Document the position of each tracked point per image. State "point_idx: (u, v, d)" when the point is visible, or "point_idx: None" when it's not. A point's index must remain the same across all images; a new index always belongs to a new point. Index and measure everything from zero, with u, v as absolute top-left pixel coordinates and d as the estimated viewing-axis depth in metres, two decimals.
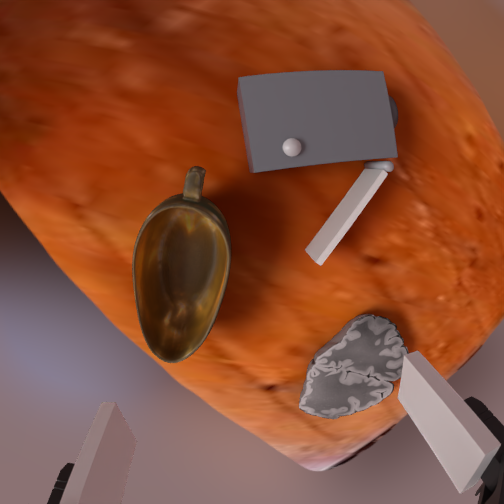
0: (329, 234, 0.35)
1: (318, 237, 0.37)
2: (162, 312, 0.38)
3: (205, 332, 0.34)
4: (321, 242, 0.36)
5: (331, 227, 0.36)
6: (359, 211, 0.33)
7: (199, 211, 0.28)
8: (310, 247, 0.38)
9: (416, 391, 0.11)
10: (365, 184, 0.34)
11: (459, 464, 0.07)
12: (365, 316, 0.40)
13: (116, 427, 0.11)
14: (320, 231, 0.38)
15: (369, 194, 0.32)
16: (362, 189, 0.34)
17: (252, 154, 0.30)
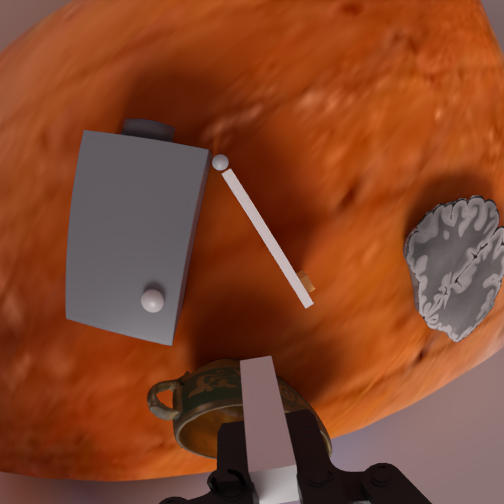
0: None
1: None
2: None
3: None
4: None
5: None
6: (267, 231, 0.24)
7: (190, 419, 0.24)
8: None
9: None
10: None
11: None
12: (408, 243, 0.29)
13: None
14: None
15: (250, 209, 0.24)
16: None
17: (150, 340, 0.25)
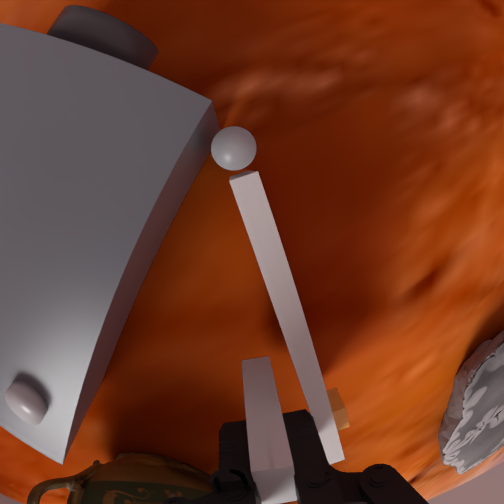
0: None
1: None
2: None
3: None
4: None
5: None
6: (308, 344, 0.10)
7: None
8: None
9: None
10: None
11: None
12: (477, 370, 0.15)
13: None
14: None
15: (281, 288, 0.09)
16: None
17: (29, 444, 0.09)
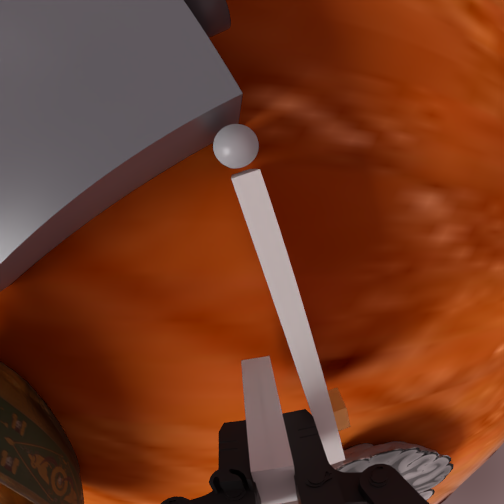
0: None
1: None
2: None
3: None
4: None
5: None
6: (309, 343, 0.10)
7: None
8: None
9: None
10: None
11: None
12: (346, 465, 0.16)
13: None
14: None
15: (282, 287, 0.09)
16: None
17: None
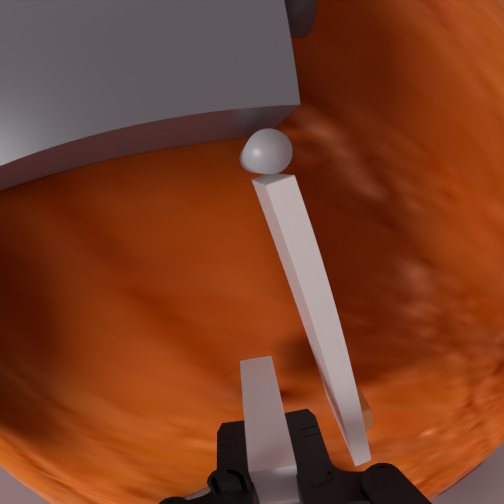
0: (334, 403, 0.12)
1: (326, 389, 0.14)
2: None
3: None
4: (336, 413, 0.13)
5: (325, 380, 0.13)
6: (342, 349, 0.09)
7: None
8: (331, 405, 0.15)
9: None
10: (283, 251, 0.10)
11: None
12: None
13: None
14: (319, 370, 0.15)
15: (317, 294, 0.09)
16: (291, 272, 0.10)
17: None
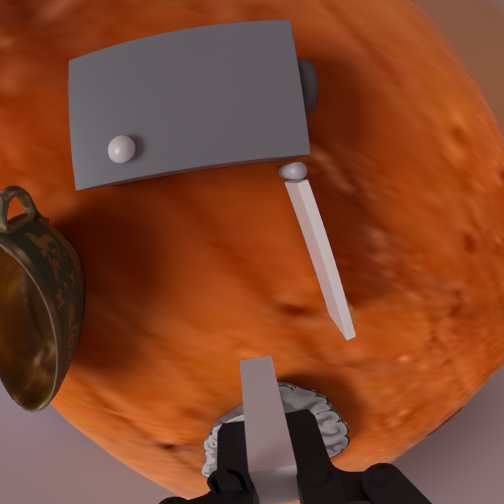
0: (330, 297, 0.25)
1: (326, 299, 0.27)
2: (32, 351, 0.27)
3: None
4: (333, 308, 0.25)
5: (325, 286, 0.25)
6: (330, 254, 0.22)
7: (3, 246, 0.16)
8: (330, 312, 0.28)
9: None
10: (302, 212, 0.23)
11: None
12: None
13: None
14: (322, 288, 0.28)
15: (318, 227, 0.21)
16: (306, 222, 0.23)
17: (74, 164, 0.18)
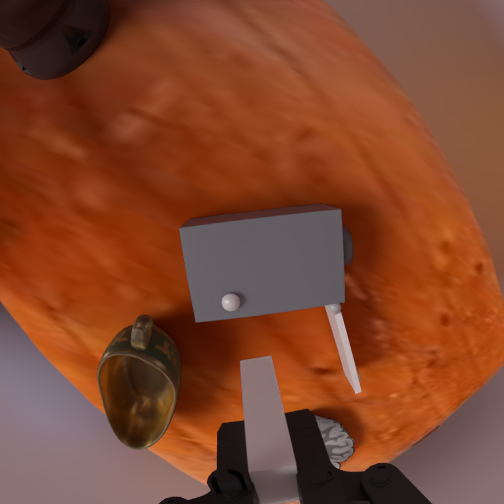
0: (347, 369, 0.38)
1: (344, 367, 0.40)
2: (129, 404, 0.40)
3: (161, 431, 0.35)
4: (348, 374, 0.38)
5: (344, 362, 0.38)
6: (350, 350, 0.35)
7: (145, 360, 0.29)
8: (345, 373, 0.41)
9: None
10: (334, 325, 0.36)
11: None
12: None
13: None
14: (341, 359, 0.41)
15: (344, 337, 0.35)
16: (336, 330, 0.36)
17: (193, 306, 0.32)
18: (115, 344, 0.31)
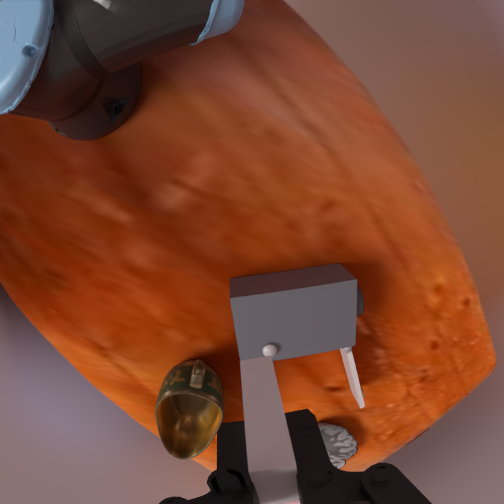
0: (354, 390, 0.46)
1: (351, 386, 0.48)
2: (174, 421, 0.48)
3: (206, 444, 0.44)
4: (354, 393, 0.47)
5: (351, 384, 0.47)
6: (357, 378, 0.43)
7: (202, 397, 0.37)
8: (352, 391, 0.49)
9: None
10: (346, 358, 0.44)
11: None
12: (322, 426, 0.50)
13: None
14: (349, 381, 0.49)
15: (353, 369, 0.43)
16: (347, 362, 0.44)
17: (239, 353, 0.39)
18: (174, 384, 0.39)
